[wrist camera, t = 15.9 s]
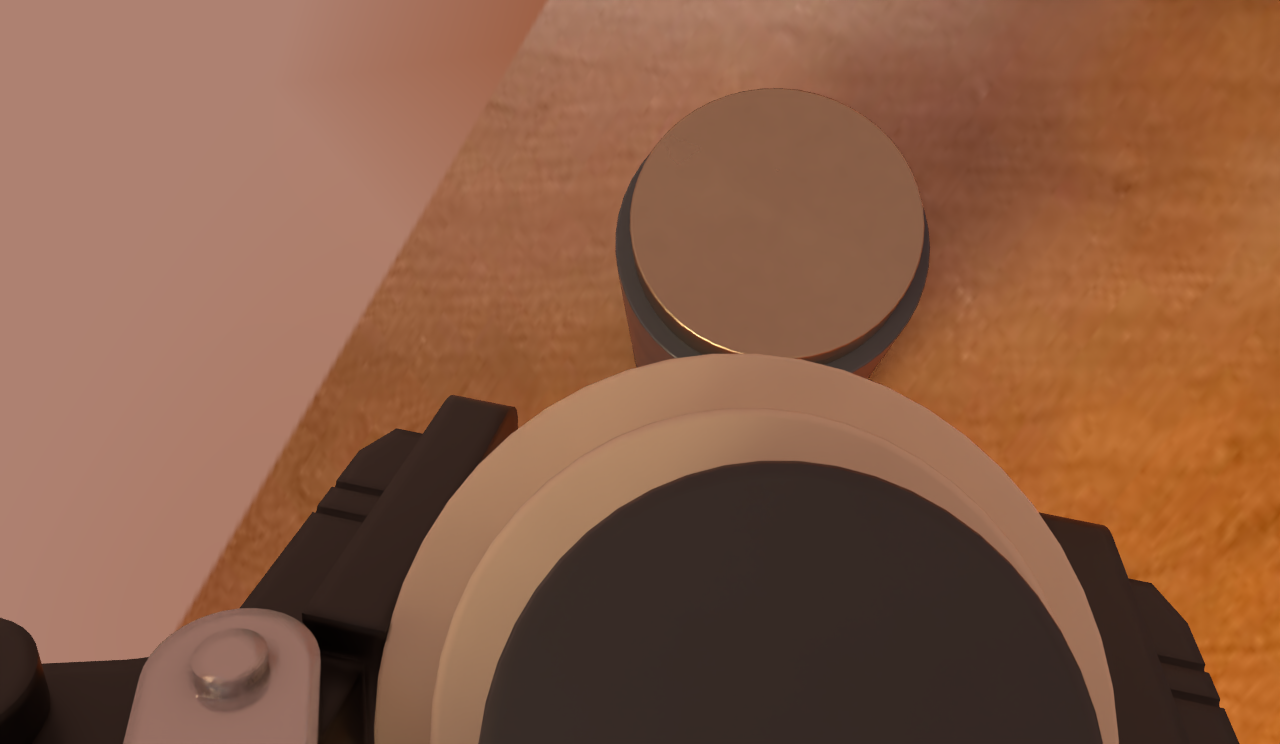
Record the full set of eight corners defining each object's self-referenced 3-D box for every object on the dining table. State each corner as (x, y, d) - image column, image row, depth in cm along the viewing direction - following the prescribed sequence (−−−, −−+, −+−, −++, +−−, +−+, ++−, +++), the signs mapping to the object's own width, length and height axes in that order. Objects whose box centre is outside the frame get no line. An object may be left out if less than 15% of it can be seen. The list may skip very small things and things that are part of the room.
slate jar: (611, 429, 37) (580, 344, 26) (658, 214, 39) (646, 49, 28) (848, 475, 36) (921, 407, 25) (882, 252, 38) (962, 97, 27)
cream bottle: (503, 807, 16) (-113, 1413, 3) (581, 468, 17) (330, 62, 5) (852, 891, 15) (1544, 1942, 3) (903, 533, 16) (1513, 260, 4)
